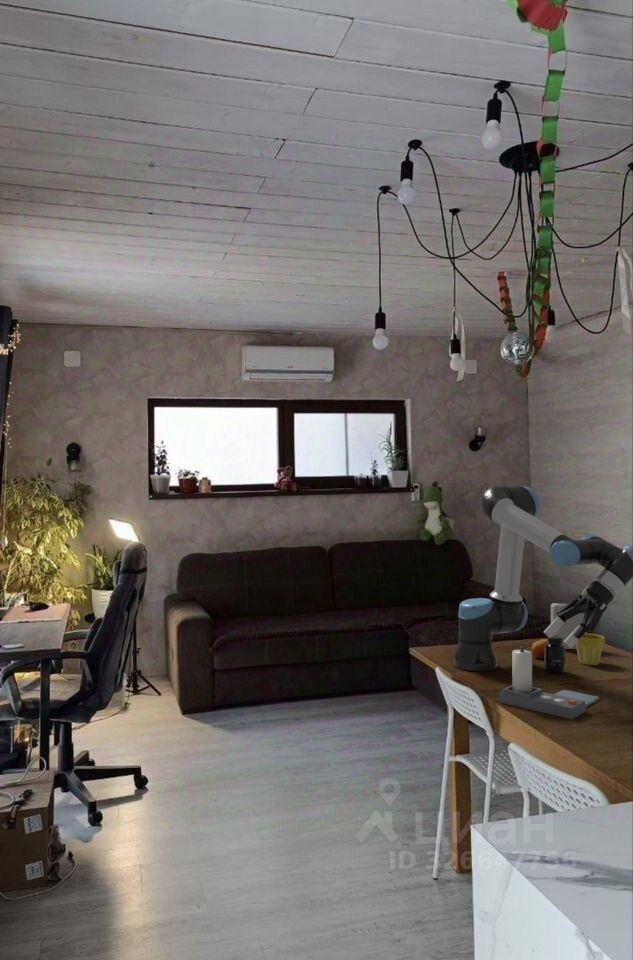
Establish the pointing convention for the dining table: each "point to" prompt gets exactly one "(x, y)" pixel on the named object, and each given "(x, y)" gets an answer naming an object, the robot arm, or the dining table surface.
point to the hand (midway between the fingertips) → (556, 640)
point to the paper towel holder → (522, 670)
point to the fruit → (539, 648)
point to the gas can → (569, 624)
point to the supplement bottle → (554, 656)
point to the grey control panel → (543, 702)
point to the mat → (578, 696)
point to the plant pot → (590, 648)
